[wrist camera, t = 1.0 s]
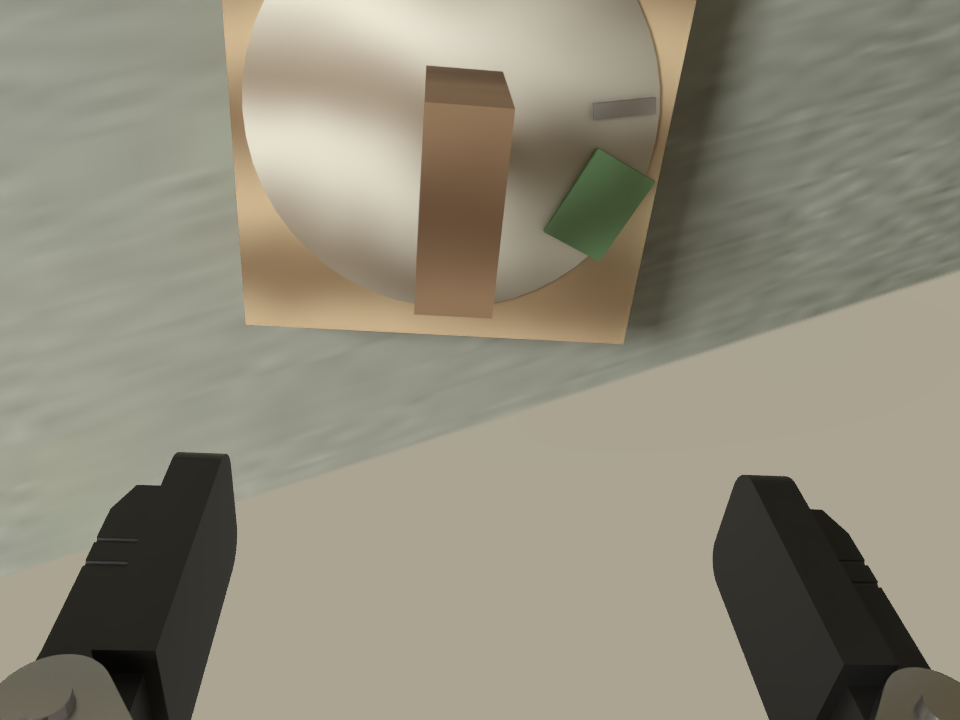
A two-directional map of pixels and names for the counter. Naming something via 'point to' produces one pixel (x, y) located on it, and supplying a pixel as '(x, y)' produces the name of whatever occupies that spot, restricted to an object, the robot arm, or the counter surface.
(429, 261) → the key
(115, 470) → the counter surface
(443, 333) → the dial board
